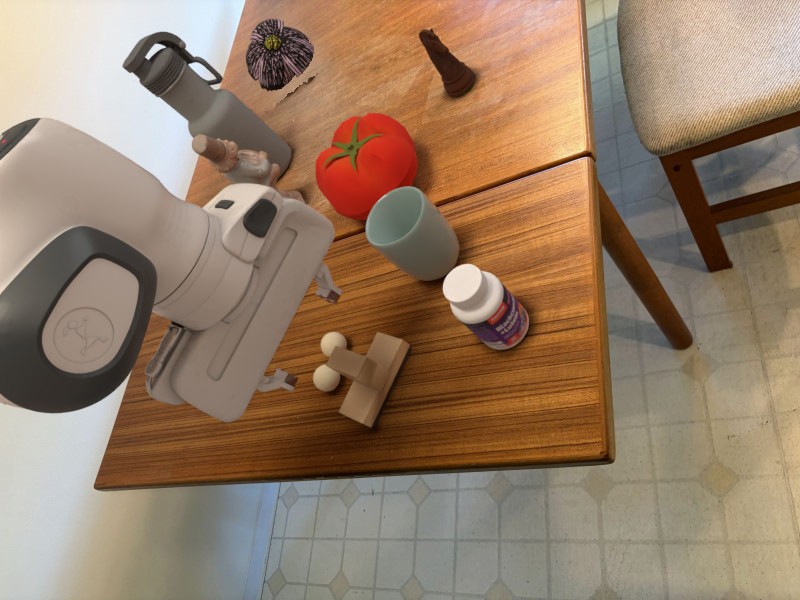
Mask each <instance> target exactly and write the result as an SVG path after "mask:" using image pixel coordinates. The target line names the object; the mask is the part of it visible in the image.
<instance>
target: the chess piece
mask: <svg viewBox="0 0 800 600" xmlns="http://www.w3.org/2000/svg"><path fill="white" fill-rule="evenodd" d="M418 38H419V41H420V43H421V44H422V46H423V47H424V49H425V51H426V53H427V55H428V58H429V59H430V61H431V63H432V64H433V66H434V67H435V69H436V71H437V72H438V74H439V75H440V77H441V78H440V79H441V82H442V83H443V88H444V90H445V92H446V94H447V95H448V97H451V98H458V97H461V96H463V95H465V94H466V93H468V92H469V91H470V90H471V89H472V87H473V86H474V85H475V82H476V74H475V72H474V71H473V70H472V68H471V67H470V66H468V65H466V63H465V62H464V61H460V60H459V59H458V58H457V57H456V56H455V55H454V54H453V53H452V52H450V49H449V47H448V46H446V45H445V44H444V43H443V42H442V41H441V39H440V37H439V36H438V35H437V34H436V33H435V32H434V29H433V28H432V27H431V28H430V29H426V28H423V29H421V30H420V32H419V33H418Z"/></svg>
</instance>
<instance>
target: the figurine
mask: <svg viewBox="0 0 800 600" xmlns="http://www.w3.org/2000/svg"><path fill="white" fill-rule="evenodd" d="M192 138H193V137H192ZM191 149H192V150H193V152H195V154H197V155H199V156H200V157H203V158H205V159H207V160H208V163H209V165H210V166H211V167H213V168H214V169H215V170H216V171H218V173H219V174H223V176H224V177H225V179H227V180H228V181H229V182H231V183H232V184H241V183H252V184H260V185H265V186H268V187H271V188H273V189H275V190H276V191H277V192H278V193H279V194H280V195H281V196H282V198H289V199H296V200H299V201H301V202H303V203H305V204H306V201H305V200H304V198H303V196H302V193H301V192H299V191H298V190H291V191H289V190H283V189H280V188H278V187H277V186H276V184H277V182H278V180H277V177H278V176H279V174H280V167H279V166H278V165H277V164H270V162H269V161H268V154H267V153H266V152H263V151H260V152H256V151H252V150H240V151H238V146H237V145H236V144H235V143H234V142H229V141H227V140H224V141H223V140H220V138H218V139H213V138H211V137H208V136H206V135H201V134H200V135H197V136H195V137H194V138H193V139H192V140H191Z"/></svg>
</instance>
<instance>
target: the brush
mask: <svg viewBox="0 0 800 600" xmlns="http://www.w3.org/2000/svg"><path fill="white" fill-rule="evenodd" d="M410 346H411V344H409V343H408V342H406V341H405V340H404V339H402V338H399V337H395V336H394V335H393V336H392V335H388V334H385V333H383V332H379V331H377V332H376V334H375V336H374V338H373V340H372V342H371V344H370V346H369V348H368V350H367V352H366V354H365V355H363V354H361V353H358V352H354V351H352V350H349V349H347V348H346V349H344V348H341V347H338V346H335V348H334V350H333V352H332V354H331V356H330V357H328V359H327V362H326V363H325V364H326V366H327V367H329V368H331V369H333V370H334V371H336V372H338V373H340V376H343V377H345V378H347V379H349V380H351V381H352V383H351V386H350V388H349V390H348V391H347V394H346V395H345V397H344V400H343V401H342V404H341V406H340V408H339V410H338V413H339V414H341V415H343V416H346V417H347V418H349V419H352V420H354V421H355V422H358V423H360V424H362V425H363V426H366V427H369V428H376V426H377V425H378V422H379V420H380V418H381V417H382V413H383V411H384V410H385V407H386V405H387V404H388V401H389V399H390V396H391V395H392V393H393V390H394V388H395V386H396V384H397V382H398V380H399V378H400V376H401V373H402V371H403V369H404V367H405V365H406V362H407V360H408V358H409V356H410V354H411V352H412V348H411V347H410Z"/></svg>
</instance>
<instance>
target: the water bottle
mask: <svg viewBox="0 0 800 600" xmlns="http://www.w3.org/2000/svg"><path fill="white" fill-rule="evenodd" d="M155 45H161V46H162V48H160V49H159V50H157V51H156V52H155V53H153V55H151V56H150V57H149V58H146V57H147V56H148V53H149V52H150V51H151V50H152V48H153V47H155ZM163 46H164V47H163ZM186 48H187V44H186V42H185V41H184V40H183V39H181V38H180V36H179V35H176V34H174V33H172V32H168V31H157V32H153V33H151V34H148V35H146V36H144V37H142V38H140V39H139V40H138V41H137V42H136V44H135V45H134V46H133V48H132V49H131V51H130V52H129V54H128V55H127V57H126V58H125V60H124V61H123V63H122V66H121V67H122V68H123V69H124V70H125V71H126V72H128V73H129V74H134V76H135V77H136V78H138V79H139V84H140V85H141V86H142V87H144V88H145V89H146V90H147V91H148V92H150V93H151V94H152V95H154V96H155V97H156V98H160V99H161V100H162V101H163V102H164V103H166V104H167V105H168V106H169V107H170V108H172V109H173V110H174V111H175V112H176V113H178V115H180V116H181V117H182V118H184V119H185V120H186V121H187V122H188V123H187V128H188V132H189V134H190V136H191V137H192V138H194V137H195V136H197V135H200V134H201V135H206V136H208V137H211V138H213V139H218V138H220V140H223V141H224V140H227V141H229V142H234V143H235V144H236V145H237V146H238V151H240V150H252V151H256V152H260V151H263V152H266V153H267V154H268V161H269V162H270V164H277V165H278V166H279V167H280V174H279V176H278V177H277V181H278V180H279V179H280V178H281V177H282V176H283V175H284V174H285V172H286V171H287V169H288V167H289V165H290V163H291V159H292V149H291V147H290V145H289V144H288V143H287V142H286V141H285V140H284V139H282V137H281V136H279V135H278V134H277V133H276V132H275V131H274V130H273V129H272V128H271V127H270V126H269V125H267V123H266V122H265V121H263V119H262V118H260V117H259V115H257V114H256V113H255V112H254V111H253V110H252V109H250V107H249V106H247V105H246V103H244V102H243V101H242V100H241V99H240V98H239V97H238V96H237V95H236V94H235V93H234V92H232V91H231V90H229V89H226V88H217V89H214V88H213V87H212V86H216V85H220V84H221V83H222V82H223V80H224V78H223V76H222V74H221V73H219V72H218V71H217V70H216V69H215V68H214V67H213V66H212V65H211V64H210V63H209V62H208V61H207V60H205V59H204V58H203V57H201V56H196V55H195V56H193V54H192V53H190V52H189V51H188V50H187V49H186ZM195 63H197V64H200V65H201V66H203V67H204V68H205V69H206V70H207V71H209V73H211V74H212V75H213V76H214V77H215V78H214V79H209V80H208V79H205V78H204V77H202V76H200V74H198V73H197V72H196V71H195V70H194V69H193V68H192V67H191V66H190V65H191V64H195ZM288 145H289V146H288Z"/></svg>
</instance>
